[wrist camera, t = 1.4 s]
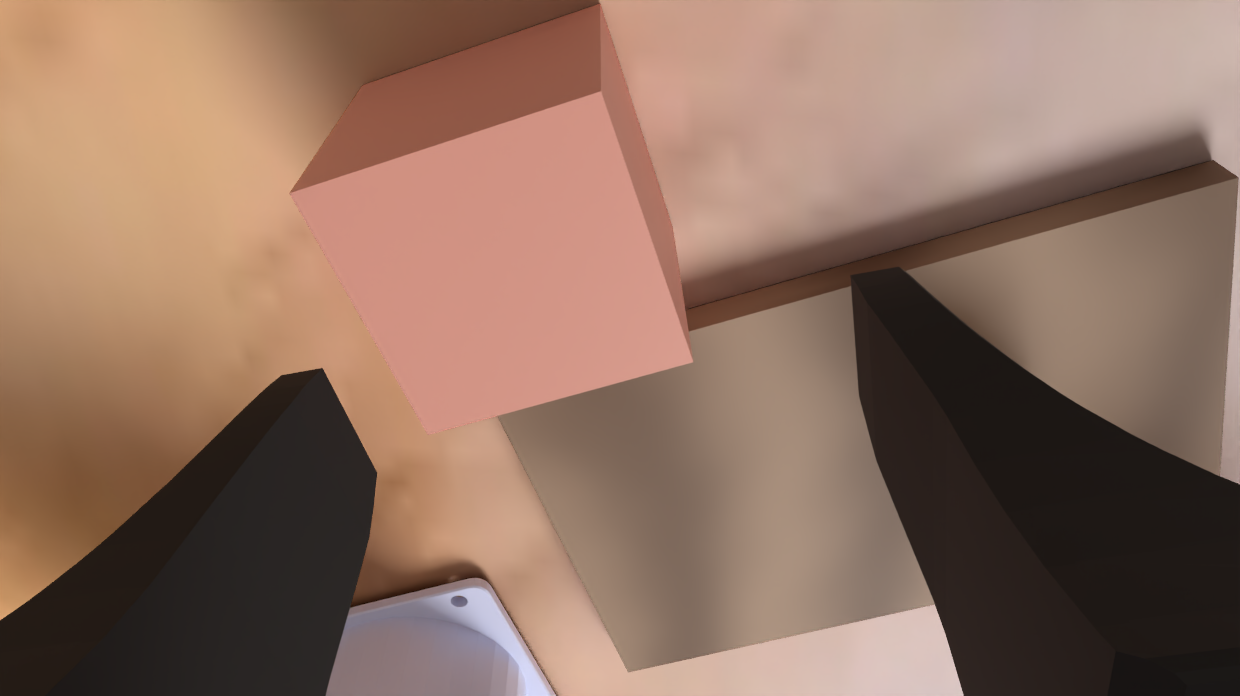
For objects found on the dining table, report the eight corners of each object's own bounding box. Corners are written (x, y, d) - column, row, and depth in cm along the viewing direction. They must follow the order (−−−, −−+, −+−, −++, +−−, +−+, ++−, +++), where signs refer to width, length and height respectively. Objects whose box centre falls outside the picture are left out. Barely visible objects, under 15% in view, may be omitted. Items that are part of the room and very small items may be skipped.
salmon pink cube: (462, 290, 22) (427, 434, 18) (362, 85, 20) (289, 193, 15) (672, 228, 22) (693, 361, 17) (600, 3, 19) (600, 91, 14)
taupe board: (627, 646, 30) (628, 672, 29) (487, 366, 24) (483, 388, 23) (1197, 517, 27) (1215, 541, 27) (1213, 159, 21) (1238, 177, 20)
